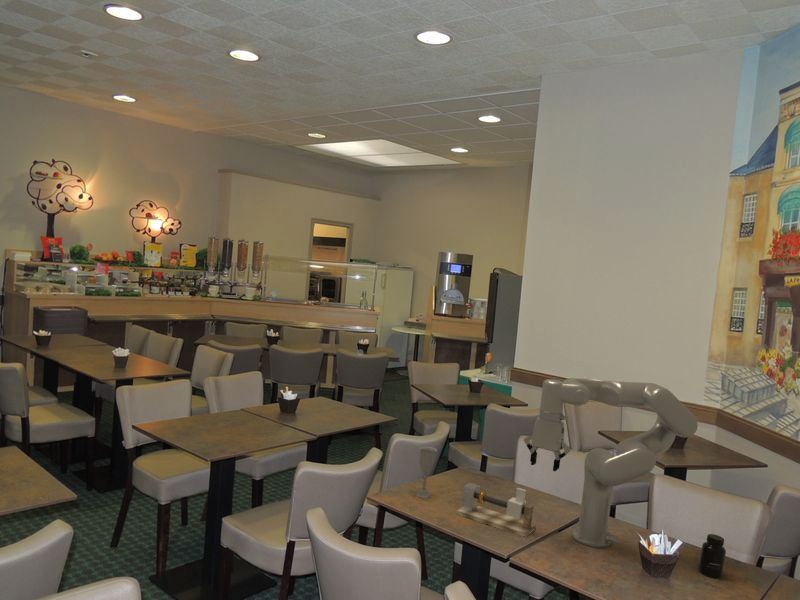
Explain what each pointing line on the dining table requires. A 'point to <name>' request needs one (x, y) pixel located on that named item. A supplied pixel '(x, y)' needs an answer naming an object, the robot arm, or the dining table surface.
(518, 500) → the sleeve
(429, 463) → the chalice
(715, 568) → the supplement bottle
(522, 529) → the beige rod holder
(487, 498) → the dark grey rod
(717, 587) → the dining table surface
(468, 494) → the connector
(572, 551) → the dining table surface
